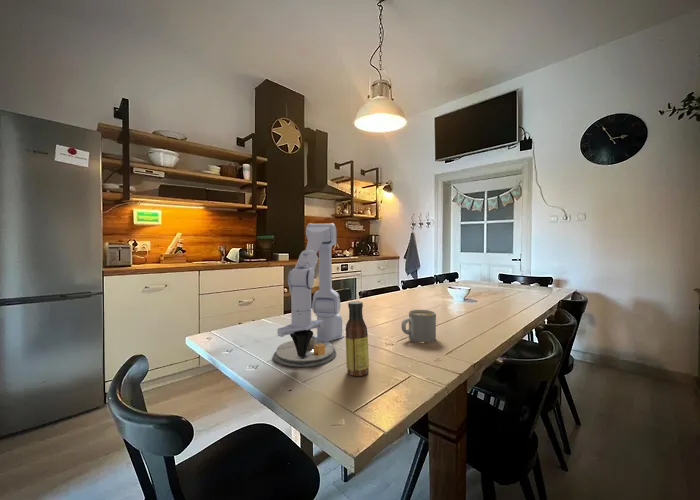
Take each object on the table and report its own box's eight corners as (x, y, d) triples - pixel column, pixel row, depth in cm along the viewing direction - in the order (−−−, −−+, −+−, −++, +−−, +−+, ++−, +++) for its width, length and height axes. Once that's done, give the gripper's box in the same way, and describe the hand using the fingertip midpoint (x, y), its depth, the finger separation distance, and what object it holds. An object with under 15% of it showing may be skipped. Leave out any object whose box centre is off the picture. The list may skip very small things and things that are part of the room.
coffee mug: (429, 334, 122) (430, 309, 122) (439, 342, 112) (440, 315, 112) (397, 335, 121) (397, 310, 121) (404, 343, 111) (404, 316, 111)
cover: (308, 343, 103) (308, 333, 103) (318, 348, 99) (318, 337, 99) (294, 347, 100) (294, 336, 100) (303, 352, 95) (303, 340, 95)
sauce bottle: (371, 369, 88) (371, 300, 88) (365, 379, 82) (365, 305, 82) (349, 366, 90) (349, 299, 90) (342, 375, 84) (342, 303, 84)
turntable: (311, 339, 112) (311, 328, 112) (344, 352, 99) (344, 339, 99) (266, 351, 100) (266, 338, 100) (297, 368, 87) (297, 353, 87)
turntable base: (312, 341, 114) (312, 339, 114) (348, 355, 99) (348, 353, 99) (262, 354, 100) (262, 352, 100) (296, 373, 86) (296, 371, 85)
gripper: (286, 316, 81) (287, 366, 82) (329, 308, 91) (329, 353, 92) (273, 311, 87) (273, 359, 87) (315, 304, 96) (315, 347, 97)
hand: (301, 355), depth 90 cm, fingers closed
